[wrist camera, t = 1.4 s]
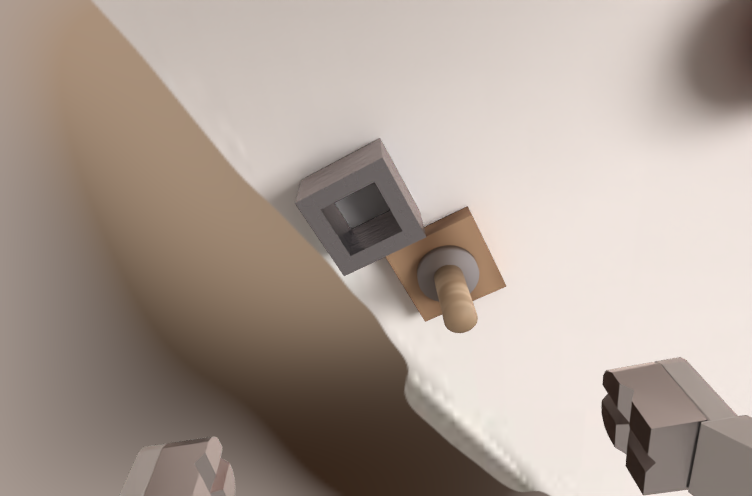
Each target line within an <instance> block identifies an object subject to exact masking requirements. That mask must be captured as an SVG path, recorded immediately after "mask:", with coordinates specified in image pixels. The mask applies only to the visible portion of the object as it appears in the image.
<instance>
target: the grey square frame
mask: <svg viewBox="0 0 752 496" xmlns="http://www.w3.org/2000/svg"><path fill="white" fill-rule="evenodd" d="M374 182H375V184H376V186H377V187H378V189H379V191H380V193H381V194H382V196H383V198H384V200H385V201H386V203H387V205H388V206H389V208H390V211H388V212H386V213H384V214H382V215H380V216H378V217H376V218H374V219H372V220H370V221H368V222H366V223H364V224H361V225H359V226H357V227H355V228H353V229H351V228H350V227H349V225H348V223H347V222H346V220H345V219H344V217H343V216H342V214H341V212H340V211H339V209H338V208H337V206H336V204H335V202H337V201H339V200H340V199H342V198H344V197H346V196H348V195H350V194H352V193H354V192H356V191H358V190H360V189H362V188H364V187H366V186H368V185H370V184H372V183H374ZM295 204H296V206H297V207H298V209H299V210H300V212H301V213H302V214H303V216H304V217H305V219H306V220H307V222H308V223H309V225H310V226H311V228H312V229H313V231H314V232H315V234H316V235H317V237H318V238H319V240H320V241H321V243H322V244H323V246H324V247H325V249H326V250H327V252H328V253H329V254H330V256H331V257H332V259H333V260H334V262H335V263H336V265H337V266H338V268H339V269H340V271H341V272H342V274H343V275H344V276H346V275H348V274H350V273H352V272H354V271H356V270H358V269H360V268H363V267H365V266H367V265H369V264H371V263H373V262H375V261H377V260H379V259H382V258H384V257H386V256H388V255H390V254H392V253H394V252H396V251H398V250H400V249H403V248H405V247H407V246H409V245H411V244H413V243H415V242H417V241H419V240H422V239H424V238H426V234H425V230H424V226H423V222H422V218H421V214H420V211H419V209H418V207H417V205H416V204H415V202H414V200H413V198H412V196H411V194H410V192H409V191H408V189H407V187H406V185H405V183H404V181H403V180H402V178H401V176H400V174H399V172H398V170H397V169H396V167H395V165H394V163H393V161H392V159H391V157H390V156H389V154H388V152H387V150H386V148H385V146H384V145H383V143H382V141H381V139H380V138H379V139H378V140H376V141H374V142H372V143H370V144H368V145H366V146H364V147H362V148H361V149H359V150H357V151H355V152H353V153H351V154H349V155H347V156H346V157H344V158H342V159H340V160H338V161H336V162H334V163H332V164H330V165H329V166H327V167H325V168H323V169H321V170H319V171H317V172H315V173H313V174H312V175H310V176H308V177H306V178H304V179H302V180H301V182H300V186H299V189H298V193H297V197H296V201H295Z"/></svg>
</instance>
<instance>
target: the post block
mask: <svg viewBox="0 0 752 496" xmlns="http://www.w3.org/2000/svg"><path fill="white" fill-rule="evenodd" d="M424 230H425V234H426V238H424V239H422V240H419V241H417V242H415V243H413V244H411V245H409V246H407V247H405V248H403V249H400V250H398V251H396V252H394V253H392V254H390V255H388V256H386V258H387V260H388V262H389V263H390V265H391V267H392V268H393V270H394V272H395V273H396V275H397V276H398V278H399V280H400V281H401V283H402V285H403V286H404V288H405V290H406V291H407V293H408V294H409V296H410V298H411V299H412V301H413V303H414V304H415V306H416V308H417V309H418V311H419V312H420V314H421V316H422V317H423V319H424V321H425V322H426V321H428V320H430V319H433V318H435V317H437V316H439V315H443V319H444V323H445V326H446V327H447V329H448V330H450V331H452V332H455V333H464V332H467V331H469V330H471V329H472V328H473V327H474V326H475V325H476V323H477V319H478V317H477V313H476V310H475V307H474V304H473V301H474V300H476V299H478V298H481V297H483V296H485V295H488V294H490V293H492V292H495V291H497V290H499V289H501V288H504V287H506V285H505V282H504V280H503V278H502V276H501V274H500V272H499V270H498V268H497V266H496V264H495V262H494V260H493V257H492V255H491V253H490V251H489V249H488V247H487V245H486V243H485V241H484V239H483V237H482V235H481V233H480V231H479V229H478V227H477V225H476V223H475V221H474V218H473V216H472V214H471V212H470V210H469V208H468V207H466V208H463V209H461V210H459V211H457V212H455V213H453V214H451V215H449V216H447V217H445V218H443V219H440V220H438V221H436V222H434V223H432V224H430V225H428V226H426V227H424Z"/></svg>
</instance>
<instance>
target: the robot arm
mask: <svg viewBox="0 0 752 496" xmlns="http://www.w3.org/2000/svg"><path fill="white" fill-rule="evenodd" d="M603 386H604V388H605V389H606V391H607V393H608V394H607V395H606V396H605V398H604V399H603V400H602V417H603V422H604V426H605V429H606V431H607V434H608V436H609V438H610V440H611V441H612V443H613V445H614V447H615V448H617V449H619V450H620V451H622V452H624V453H625V454H627V456H626V467H627V469H628V471H629V472H630V474H631V476H632V477H633V479H634V481H635V482H636V484H637V486H638V487H639V489H640V491H641V493H642V494H643V495H650V494H658V493H665V492H673V491H680V490H688V489H689V490H688V492H689V493H690V494H692V495H693V496H752V418H751V417H749V416H747V415H742V416H738V415H737V414H736V413H735V412H734V411H733V410H732V409H731V408H730V407H729V406H728V405H727V404H726V402H725V401H724V400H723V399H722V398H721V397H720V396H719V395H718V394H717V393H716V392H715V391H714V390H713V388H712V387H711V386H710V385H709V384H708V383H707V382H706V381H705V380H704V379H703V378H702V377H701V375H700V374H699V373H698V372H697V371H696V370H695V369H694V368H693V367H692V366H691V365H690V364H689V363H688V361H687V360H685V359H683V358H681V357H678V358H672V359H666V360H661V361H655V362H649V363H644V364H638V365H633V366H627V367H621V368H616V369H610V370H606V371H605V373H604V375H603ZM222 449H223V448H222V446H221V444H220V442H219V440H218V438H217V437H207V438H200V439H193V440H186V441H179V442H172V443H167V444H161V445H154V446H147V447H143V448H142V450H140V451H139V453H138V454H137V456H136V458H135V461H134V463H133V465H132V467H131V470H130V472H129V474H128V476H127V479H126V481H125V483H124V486H123V488H122V490H121V492H120V494H119V496H235V479H234V474H233V470H232V468H231V466H230V463H229V462H227V461H225V460H224V459H222V458H220V457H221V453H222Z"/></svg>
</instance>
